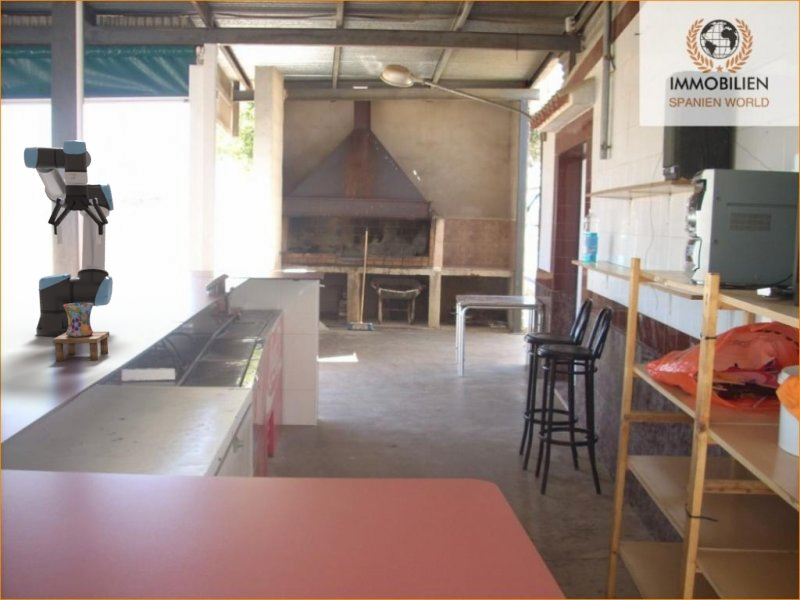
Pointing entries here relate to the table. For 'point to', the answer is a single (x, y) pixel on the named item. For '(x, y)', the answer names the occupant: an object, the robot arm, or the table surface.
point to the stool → (91, 339)
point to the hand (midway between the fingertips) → (79, 244)
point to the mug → (78, 319)
